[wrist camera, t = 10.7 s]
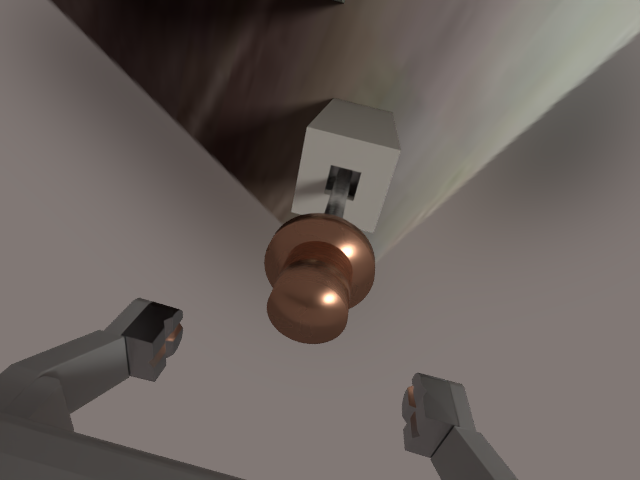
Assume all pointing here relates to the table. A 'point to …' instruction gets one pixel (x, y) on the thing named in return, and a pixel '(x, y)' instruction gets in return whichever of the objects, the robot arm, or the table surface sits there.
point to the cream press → (348, 160)
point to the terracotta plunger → (319, 267)
